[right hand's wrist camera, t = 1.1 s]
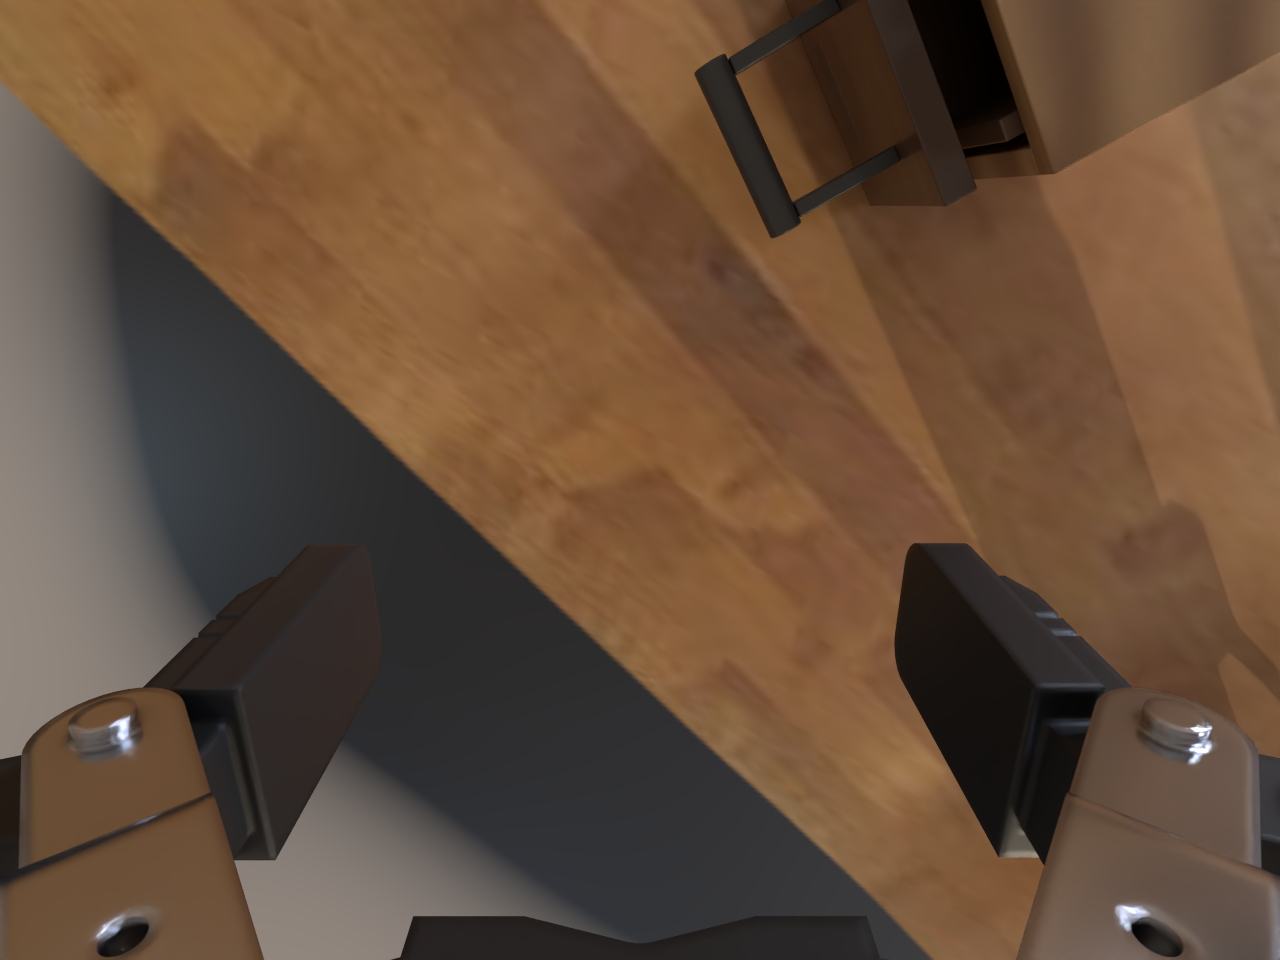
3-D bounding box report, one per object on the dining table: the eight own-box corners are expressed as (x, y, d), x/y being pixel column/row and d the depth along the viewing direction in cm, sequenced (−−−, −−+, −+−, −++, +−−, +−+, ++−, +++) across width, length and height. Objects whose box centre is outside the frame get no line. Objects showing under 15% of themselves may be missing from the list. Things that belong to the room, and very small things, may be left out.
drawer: (764, 264, 36) (803, 284, 27) (667, 59, 33) (676, 7, 24) (1123, 65, 33) (1296, 16, 24) (1052, -181, 30) (1220, -338, 21)
